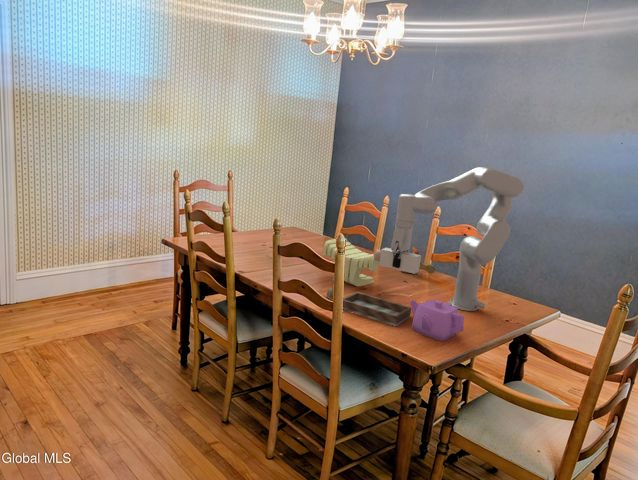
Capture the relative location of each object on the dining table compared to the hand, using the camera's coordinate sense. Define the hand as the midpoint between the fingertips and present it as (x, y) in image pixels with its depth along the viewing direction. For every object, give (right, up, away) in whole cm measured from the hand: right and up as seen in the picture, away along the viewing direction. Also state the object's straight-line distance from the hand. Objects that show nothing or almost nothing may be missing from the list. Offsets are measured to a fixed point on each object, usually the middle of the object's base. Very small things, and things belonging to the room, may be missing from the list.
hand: (398, 265), depth 203 cm
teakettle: (+9, -24, -22) cm, 34 cm away
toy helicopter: (+18, -8, +53) cm, 57 cm away
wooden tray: (-11, -19, -8) cm, 23 cm away
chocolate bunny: (-28, -14, +5) cm, 31 cm away
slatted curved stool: (-17, -9, +32) cm, 37 cm away
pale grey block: (-1, -1, +1) cm, 2 cm away
